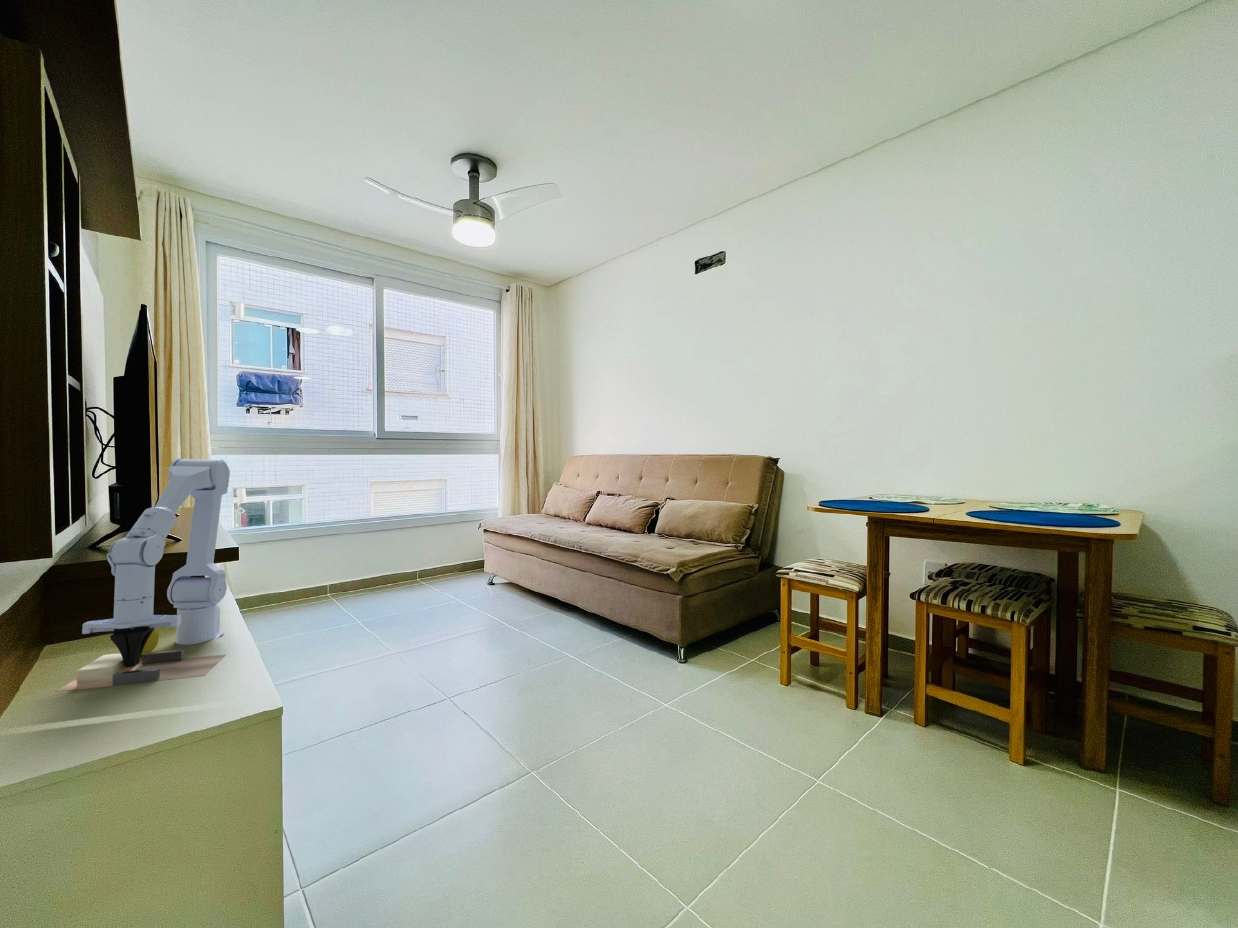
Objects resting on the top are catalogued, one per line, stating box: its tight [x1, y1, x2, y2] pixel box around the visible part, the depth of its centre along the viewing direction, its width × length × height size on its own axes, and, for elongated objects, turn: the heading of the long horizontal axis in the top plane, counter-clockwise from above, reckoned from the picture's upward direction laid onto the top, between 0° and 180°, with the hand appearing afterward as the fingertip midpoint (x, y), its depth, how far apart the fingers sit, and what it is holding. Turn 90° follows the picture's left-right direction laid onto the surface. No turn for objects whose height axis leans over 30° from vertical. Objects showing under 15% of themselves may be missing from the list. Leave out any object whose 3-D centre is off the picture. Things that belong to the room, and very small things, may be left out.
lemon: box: [140, 627, 160, 657], centre depth 109 cm, size 6×6×8 cm
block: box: [76, 652, 135, 687], centre depth 98 cm, size 8×5×3 cm, turn 22°
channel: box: [113, 649, 185, 686], centre depth 100 cm, size 12×6×2 cm, turn 22°
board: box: [55, 654, 226, 693], centre depth 100 cm, size 12×22×1 cm, turn 112°
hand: (131, 665), depth 99 cm, fingers closed
